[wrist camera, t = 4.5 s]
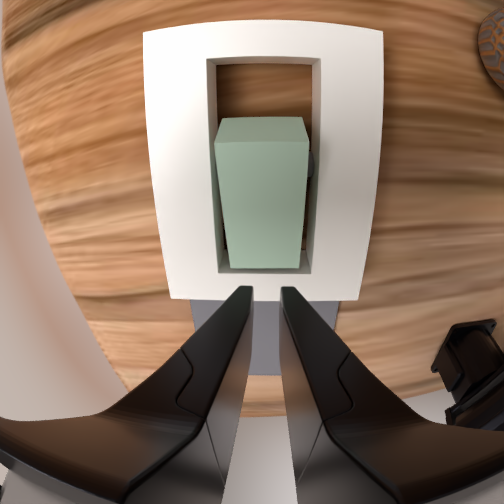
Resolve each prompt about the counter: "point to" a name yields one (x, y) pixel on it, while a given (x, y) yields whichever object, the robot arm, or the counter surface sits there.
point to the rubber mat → (263, 329)
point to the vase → (493, 45)
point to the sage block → (263, 189)
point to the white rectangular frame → (319, 159)
